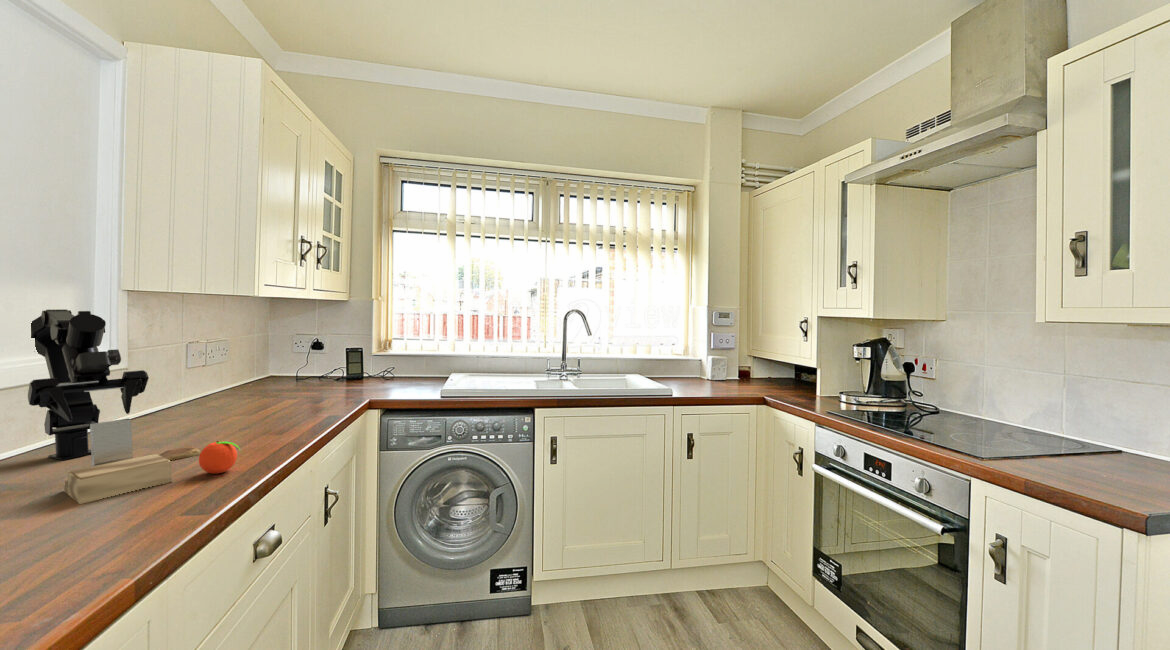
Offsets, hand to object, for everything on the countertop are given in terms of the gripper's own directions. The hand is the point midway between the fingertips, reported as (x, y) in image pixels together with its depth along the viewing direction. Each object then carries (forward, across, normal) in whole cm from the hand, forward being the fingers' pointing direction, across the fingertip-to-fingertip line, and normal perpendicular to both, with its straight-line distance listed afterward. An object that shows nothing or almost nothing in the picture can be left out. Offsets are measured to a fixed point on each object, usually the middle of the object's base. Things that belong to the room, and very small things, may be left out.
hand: (100, 416), depth 109 cm
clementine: (+22, +16, -4) cm, 28 cm away
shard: (+8, +14, +12) cm, 20 cm away
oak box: (+17, 0, +2) cm, 17 cm away
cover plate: (+14, 0, +4) cm, 15 cm away
